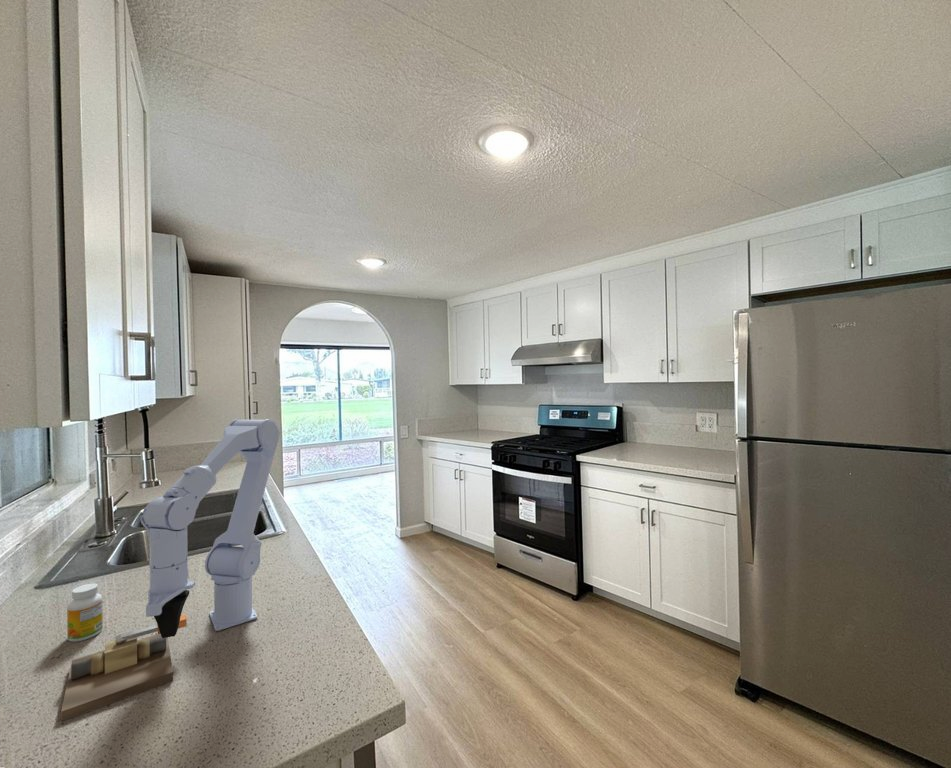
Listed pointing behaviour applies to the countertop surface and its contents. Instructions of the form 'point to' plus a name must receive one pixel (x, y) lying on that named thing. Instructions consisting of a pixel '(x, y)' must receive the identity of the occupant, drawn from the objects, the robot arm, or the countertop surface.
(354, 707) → the countertop surface
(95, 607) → the supplement bottle
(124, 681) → the valve base
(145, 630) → the valve lever
